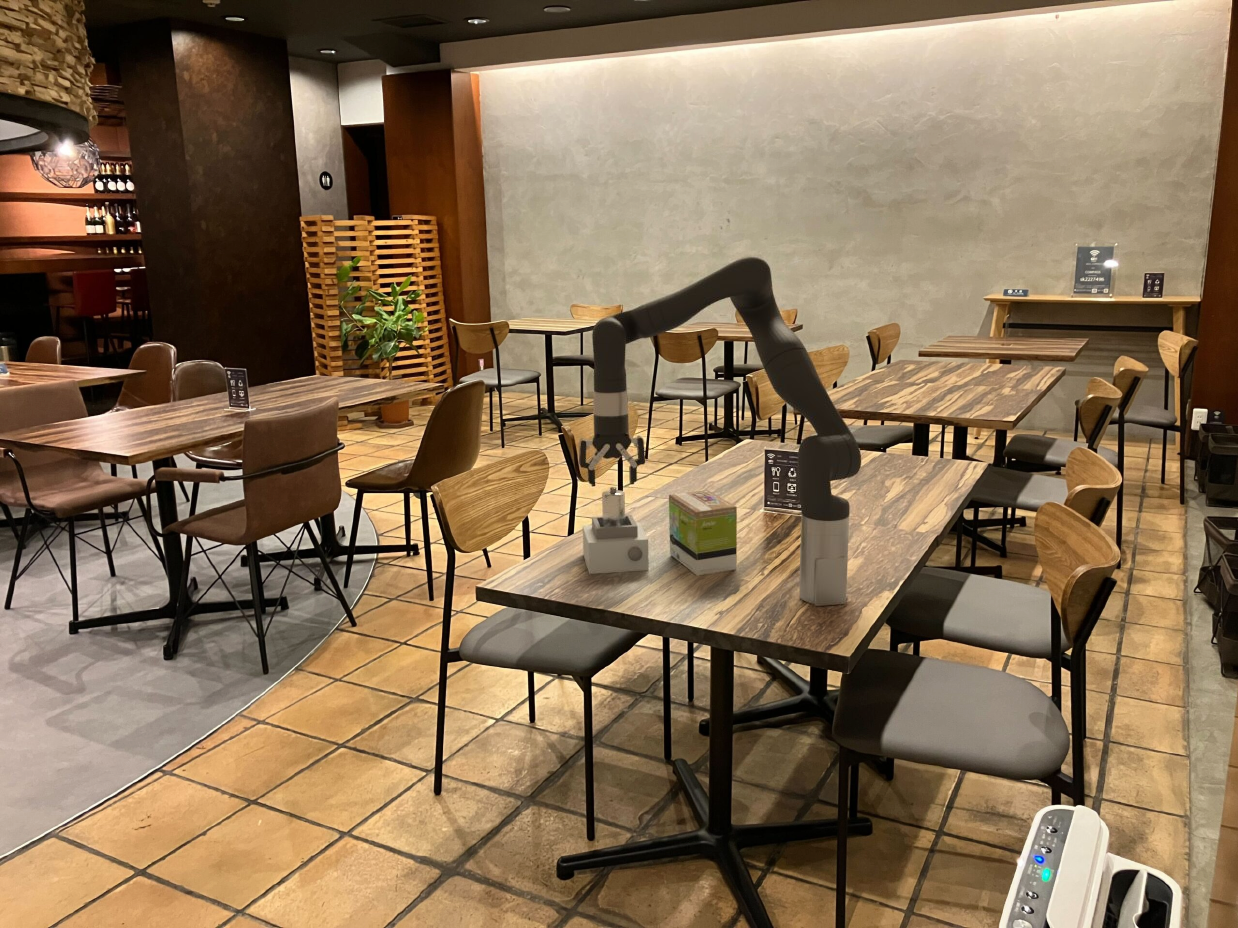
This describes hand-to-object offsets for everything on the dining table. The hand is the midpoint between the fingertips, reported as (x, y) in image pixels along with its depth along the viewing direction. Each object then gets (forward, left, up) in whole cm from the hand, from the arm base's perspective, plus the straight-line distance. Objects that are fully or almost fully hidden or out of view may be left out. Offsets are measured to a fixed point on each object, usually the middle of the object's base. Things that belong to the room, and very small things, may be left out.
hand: (612, 484), depth 213 cm
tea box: (-4, -19, -18) cm, 27 cm away
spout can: (0, 0, -11) cm, 11 cm away
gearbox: (0, 0, -18) cm, 18 cm away
